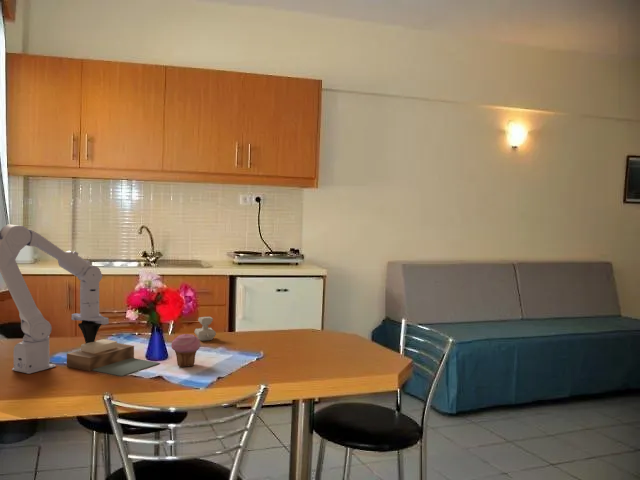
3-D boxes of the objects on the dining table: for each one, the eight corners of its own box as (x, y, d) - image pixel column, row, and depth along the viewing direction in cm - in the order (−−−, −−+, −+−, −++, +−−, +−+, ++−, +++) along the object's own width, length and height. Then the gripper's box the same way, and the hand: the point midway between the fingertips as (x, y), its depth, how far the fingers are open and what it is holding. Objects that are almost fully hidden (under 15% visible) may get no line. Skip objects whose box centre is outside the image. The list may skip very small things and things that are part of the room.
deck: (89, 371, 179) (89, 358, 179) (66, 366, 183) (66, 353, 183) (134, 357, 195) (134, 345, 195) (111, 353, 199) (111, 342, 199)
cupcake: (171, 369, 182) (172, 337, 181) (170, 362, 190) (171, 331, 190) (201, 368, 184) (201, 336, 184) (199, 361, 193) (199, 330, 192)
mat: (121, 376, 174) (121, 375, 174) (92, 370, 180) (92, 369, 180) (159, 363, 188) (159, 362, 188) (131, 358, 194) (131, 357, 194)
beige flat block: (94, 353, 184) (94, 347, 184) (80, 350, 187) (80, 344, 187) (116, 347, 192) (116, 341, 192) (103, 345, 195) (103, 339, 195)
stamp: (193, 337, 225) (193, 315, 225) (210, 336, 228) (210, 314, 228) (199, 343, 217) (199, 320, 217) (217, 341, 220) (217, 319, 219)
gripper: (116, 302, 191) (116, 344, 191) (83, 298, 197) (84, 339, 198) (98, 305, 184) (98, 349, 185) (66, 301, 191) (66, 343, 192)
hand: (90, 344), depth 191 cm, fingers closed
